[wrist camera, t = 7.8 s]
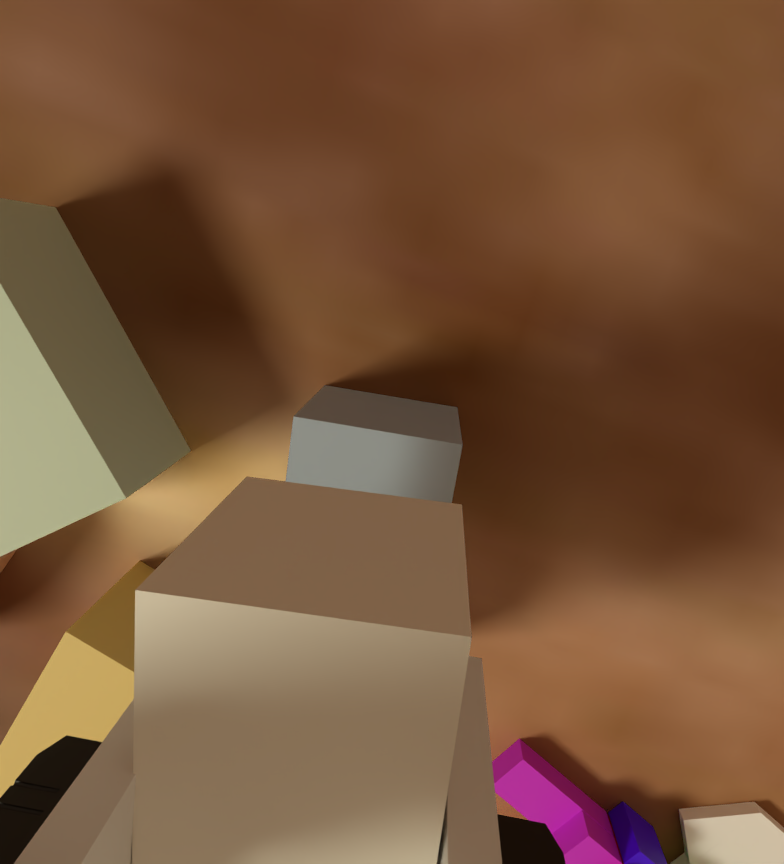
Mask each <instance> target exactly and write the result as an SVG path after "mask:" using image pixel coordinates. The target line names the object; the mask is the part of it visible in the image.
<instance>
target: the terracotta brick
mask: <svg viewBox="0 0 784 864" xmlns="http://www.w3.org/2000/svg"><path fill="white" fill-rule="evenodd" d="M16 550H17V549H16ZM16 550H13V551H11V552H9V553H7V554H5V555H3V556H1V557H0V573H1V572H2V570H3V569H4V567H5V566H6V565H7V563H8V562H9V560H10V559H11V557H12V556H13V555H14V553H15V552H16Z"/></svg>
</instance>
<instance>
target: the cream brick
mask: <svg viewBox="0 0 784 864" xmlns="http://www.w3.org/2000/svg"><path fill="white" fill-rule="evenodd" d="M471 638H472V635H471V621H470V607H469V594H468V580H467V566H466V552H465V538H464V525H463V511H462V504H455V503H447V502H439V501H432V500H424V499H416V498H408V497H401V496H393V495H385V494H378V493H370V492H362V491H354V490H347V489H339V488H331V487H323V486H316V485H308V484H300V483H293V482H285V481H277V480H269V479H262V478H254V477H246V478H245V479H244V480H243V481H242V482H241V483H240V484H239V485H238V486H237V487H236V488H235V489H234V490H233V491H232V492H231V493H230V494H229V495H228V496H227V497H226V498H225V499H224V500H223V501H222V502H221V503H220V504H219V505H218V506H217V507H216V508H215V509H214V510H213V511H212V512H211V513H210V514H209V515H208V516H207V518H206V519H205V520H204V521H203V522H202V523H201V524H200V525H199V526H198V527H197V528H196V529H195V530H194V531H193V532H192V533H191V534H190V535H189V536H188V537H187V538H186V539H185V540H184V541H183V542H182V543H181V544H180V545H179V546H178V547H177V548H176V549H175V550H174V551H173V552H172V553H171V554H170V555H169V556H168V557H167V558H166V559H165V560H164V561H163V562H162V563H161V564H160V565H159V566H158V567H157V568H156V569H155V570H154V571H153V572H152V573H151V574H150V575H149V576H148V577H147V579H146V580H145V581H144V582H143V583H142V584H141V585H140V586H139V587H138V588H137V589H136V590H135V649H134V737H133V774H136V783H135V798H134V814H133V829H132V864H437V858H438V851H439V845H440V839H441V832H442V826H443V819H444V813H445V806H446V800H447V793H448V787H449V780H450V774H451V767H452V761H453V755H454V748H455V742H456V735H457V729H458V722H459V716H460V709H461V703H462V696H463V690H464V683H465V677H466V671H467V664H468V658H469V651H470V645H471Z"/></svg>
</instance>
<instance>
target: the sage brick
mask: <svg viewBox="0 0 784 864" xmlns="http://www.w3.org/2000/svg"><path fill="white" fill-rule="evenodd" d="M189 452H191V450H190V448H189V446H188V445H187V443H186V441H185V439H184V437H183V436H182V434H181V432H180V430H179V428H178V427H177V425H176V423H175V421H174V419H173V418H172V416H171V414H170V412H169V410H168V409H167V407H166V405H165V403H164V401H163V400H162V398H161V396H160V394H159V392H158V391H157V389H156V387H155V385H154V383H153V382H152V380H151V378H150V376H149V374H148V373H147V371H146V369H145V367H144V365H143V364H142V362H141V360H140V358H139V356H138V355H137V353H136V351H135V349H134V347H133V346H132V344H131V342H130V340H129V338H128V337H127V335H126V333H125V331H124V329H123V328H122V326H121V324H120V322H119V320H118V319H117V317H116V315H115V313H114V311H113V310H112V308H111V306H110V304H109V302H108V301H107V299H106V297H105V295H104V293H103V292H102V290H101V288H100V286H99V284H98V283H97V281H96V279H95V277H94V275H93V274H92V272H91V270H90V268H89V266H88V265H87V263H86V261H85V259H84V257H83V256H82V254H81V252H80V250H79V248H78V247H77V245H76V243H75V241H74V239H73V238H72V236H71V234H70V232H69V230H68V229H67V227H66V225H65V223H64V221H63V220H62V218H61V216H60V214H59V212H58V211H57V209H56V207H51V206H45V205H39V204H33V203H27V202H21V201H15V200H9V199H3V198H0V557H1V556H3V555H5V554H7V553H9V552H11V551H13V550H16V549H18V548H20V547H22V546H24V545H26V544H29V543H31V542H33V541H35V540H37V539H39V538H41V537H44V536H46V535H48V534H50V533H52V532H54V531H57V530H59V529H61V528H63V527H65V526H67V525H70V524H72V523H74V522H76V521H78V520H80V519H82V518H85V517H87V516H89V515H91V514H93V513H95V512H98V511H100V510H102V509H104V508H106V507H108V506H111V505H113V504H115V503H117V502H119V501H121V500H123V499H126V498H127V497H129V496H130V495H131V494H133V493H134V492H135V491H137V490H138V489H140V488H141V487H142V486H144V485H145V484H147V483H148V482H149V481H151V480H152V479H153V478H155V477H156V476H158V475H159V474H160V473H162V472H163V471H165V470H166V469H167V468H169V467H170V466H171V465H173V464H174V463H176V462H177V461H178V460H180V459H181V458H183V457H184V456H185V455H187V454H188V453H189Z"/></svg>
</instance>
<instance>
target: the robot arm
mask: <svg viewBox="0 0 784 864" xmlns="http://www.w3.org/2000/svg"><path fill="white" fill-rule="evenodd" d="M133 737H134V699H133V701H132V702H131V703H130V705H129V706H128V707H127V709H126V710H125V712H124V713H123V714H122V716H121V717H120V718H119V720H118V721H117V723H116V724H115V725H114V727H113V728H112V729H111V731H110V732H109V734H108V735H107V736H106V738H105V739H104V740H103V742H99V741H94V740H89V739H83V738H78V737H73V736H67V735H66V736H65V737H63V738H62V739H60V740H59V741H57V742H56V743H54V744H53V745H51V746H49V747H48V748H46V749H45V750H43V751H42V752H40V753H39V754H37V755H36V756H35V757H34V759H33V760H32V761H31V762H30V763H29V764H28V766H27V767H26V768H25V769H24V770H23V772H22V773H21V774H20V775H19V776H18V777H17V779H16V780H15V783H14V785H13V786H10V787H9V788H8V789H7V790H6V792H5V793H4V794H3V795H2V796H1V798H0V864H132V829H133V814H134V798H135V783H136V774H133ZM437 864H566V863H565V858H564V854H563V851H562V850H561V848H560V847H559V845H558V843H557V842H556V840H555V838H554V837H553V835H552V834H551V832H550V830H549V829H548V827H547V825H546V824H545V823H540V822H535V821H529V820H524V819H519V818H514V817H508V816H503V815H498V814H497V807H496V797H495V787H494V777H493V767H492V757H491V747H490V737H489V727H488V717H487V707H486V697H485V687H484V677H483V667H482V658H477V657H471V656H469V658H468V664H467V671H466V677H465V683H464V690H463V696H462V703H461V709H460V716H459V722H458V729H457V735H456V742H455V748H454V755H453V761H452V767H451V774H450V780H449V787H448V793H447V800H446V806H445V813H444V819H443V826H442V832H441V839H440V845H439V851H438V858H437Z"/></svg>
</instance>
